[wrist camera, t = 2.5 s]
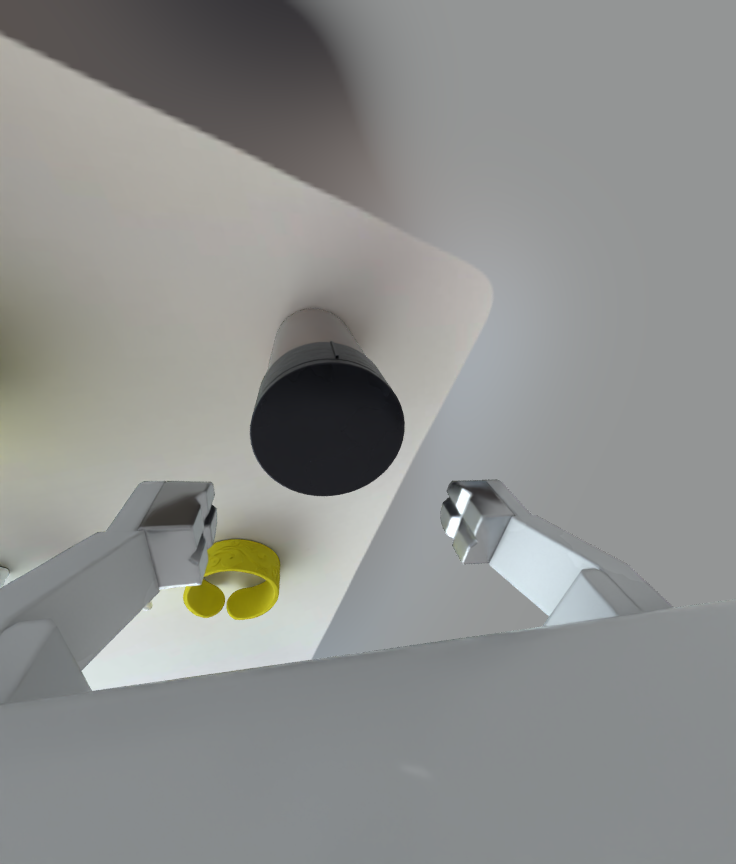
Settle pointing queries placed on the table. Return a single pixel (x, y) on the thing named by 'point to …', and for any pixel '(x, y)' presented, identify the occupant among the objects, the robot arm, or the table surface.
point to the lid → (325, 420)
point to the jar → (310, 332)
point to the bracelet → (243, 601)
